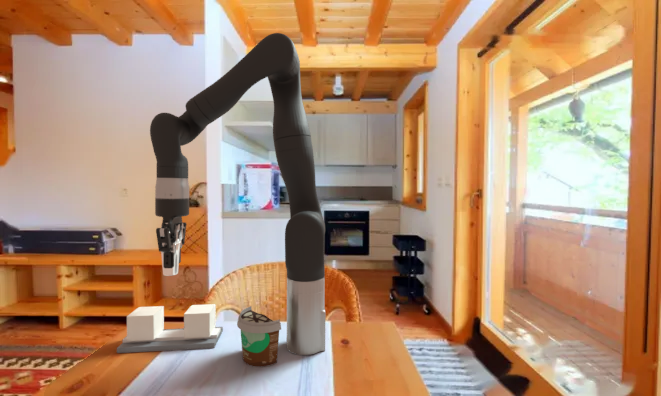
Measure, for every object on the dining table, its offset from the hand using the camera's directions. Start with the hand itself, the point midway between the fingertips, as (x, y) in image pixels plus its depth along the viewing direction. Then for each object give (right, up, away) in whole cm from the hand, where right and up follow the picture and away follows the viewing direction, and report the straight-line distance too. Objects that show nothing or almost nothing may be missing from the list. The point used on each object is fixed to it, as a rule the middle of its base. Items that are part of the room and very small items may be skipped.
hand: (172, 265), depth 77 cm
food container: (+22, -20, -7) cm, 31 cm away
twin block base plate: (0, -19, +1) cm, 20 cm away
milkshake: (0, -2, 0) cm, 2 cm away
